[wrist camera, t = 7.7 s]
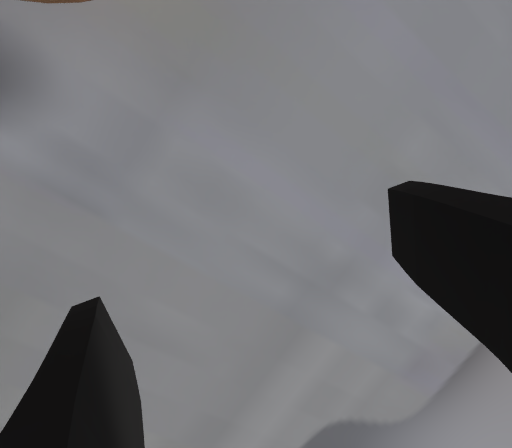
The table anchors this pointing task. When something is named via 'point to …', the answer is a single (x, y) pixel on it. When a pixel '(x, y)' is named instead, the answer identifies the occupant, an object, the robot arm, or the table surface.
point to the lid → (57, 1)
